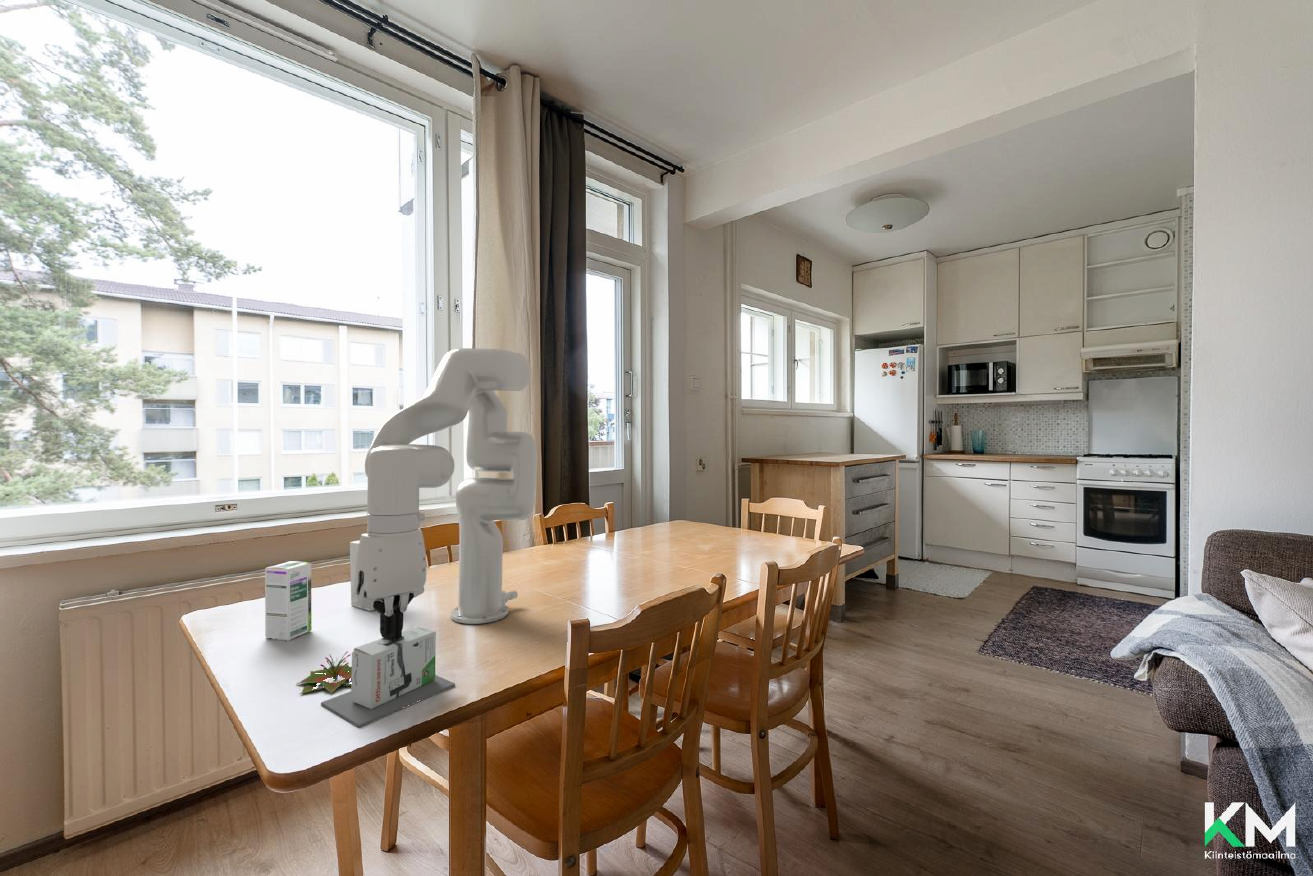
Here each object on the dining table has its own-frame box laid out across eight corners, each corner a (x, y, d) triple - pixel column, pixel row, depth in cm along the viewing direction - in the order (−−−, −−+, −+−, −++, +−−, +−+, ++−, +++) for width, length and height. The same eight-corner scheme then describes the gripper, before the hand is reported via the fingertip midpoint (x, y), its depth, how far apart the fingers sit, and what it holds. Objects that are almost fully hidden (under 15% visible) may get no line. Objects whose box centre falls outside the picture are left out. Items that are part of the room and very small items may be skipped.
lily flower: (301, 673, 97) (301, 647, 97) (378, 662, 101) (378, 638, 101) (285, 705, 86) (285, 675, 86) (372, 692, 90) (372, 664, 90)
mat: (416, 668, 98) (416, 666, 98) (455, 686, 92) (455, 683, 92) (320, 705, 85) (321, 702, 85) (359, 727, 79) (359, 725, 79)
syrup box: (288, 641, 109) (289, 568, 109) (263, 638, 110) (264, 566, 110) (312, 631, 115) (313, 562, 115) (288, 628, 116) (288, 560, 116)
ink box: (436, 680, 93) (369, 712, 83) (417, 673, 95) (350, 703, 85) (437, 630, 93) (370, 655, 82) (417, 623, 95) (350, 648, 85)
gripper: (421, 516, 97) (419, 620, 97) (333, 527, 85) (331, 646, 85) (448, 520, 93) (446, 629, 93) (359, 533, 80) (357, 658, 81)
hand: (391, 637), depth 89 cm, fingers closed
